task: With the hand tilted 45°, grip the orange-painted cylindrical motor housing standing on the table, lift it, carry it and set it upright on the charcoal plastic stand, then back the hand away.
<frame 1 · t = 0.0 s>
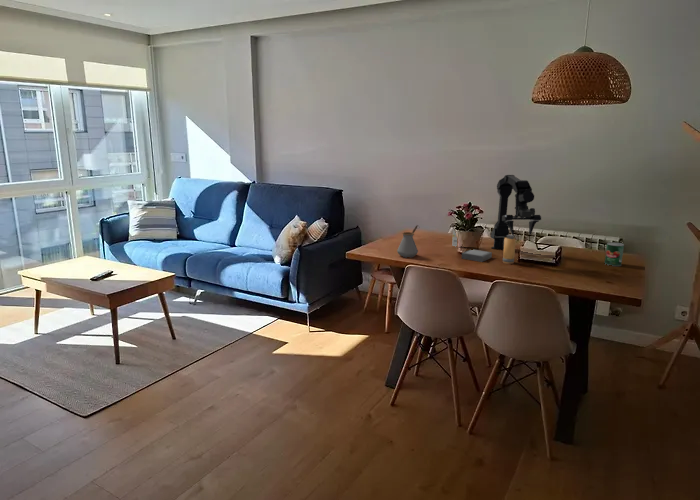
hand: (521, 234, 258), 15 cm above the table, tool pointing down, fingers open, 9 cm apart
coffee pot: (410, 254, 281), on the table
ink cartridge box: (459, 246, 300), on the table
housing: (508, 262, 264), on the table
stand: (476, 258, 273), on the table
canned tomato: (612, 264, 261), on the table
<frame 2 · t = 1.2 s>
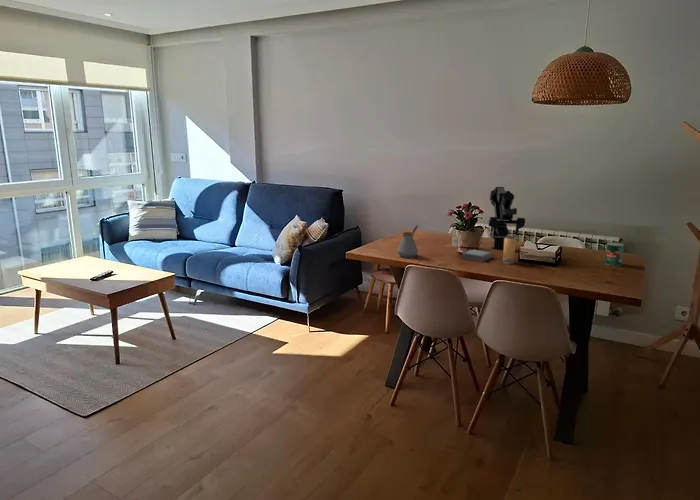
hand: (507, 235, 268), 13 cm above the table, tool tilted 45°, fingers open, 9 cm apart
nothing on the table moved.
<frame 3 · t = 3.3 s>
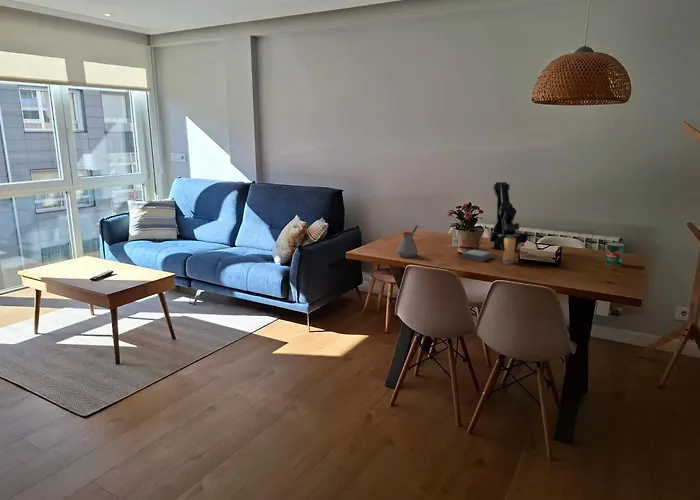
hand: (509, 250, 261), 7 cm above the table, tool tilted 45°, fingers closed on housing, 6 cm apart
housing: (508, 262, 264), on the table, touching gripper
everything else where it was.
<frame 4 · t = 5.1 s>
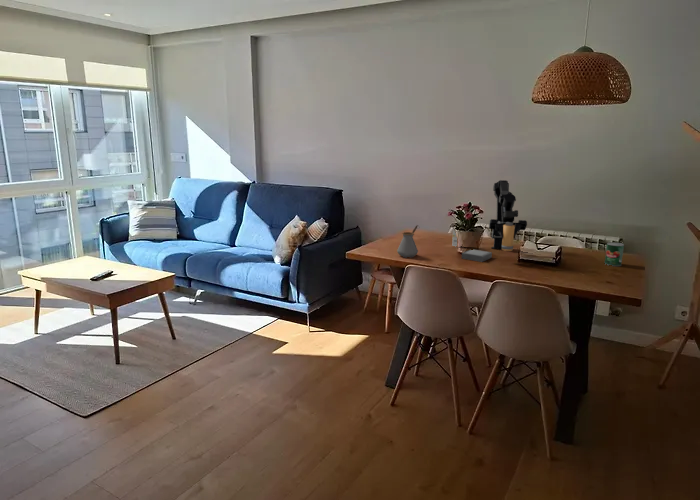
hand: (508, 238, 260), 13 cm above the table, tool tilted 45°, fingers closed on housing, 6 cm apart
housing: (507, 249, 263), point 7 cm above the table, touching gripper
everything else where it was.
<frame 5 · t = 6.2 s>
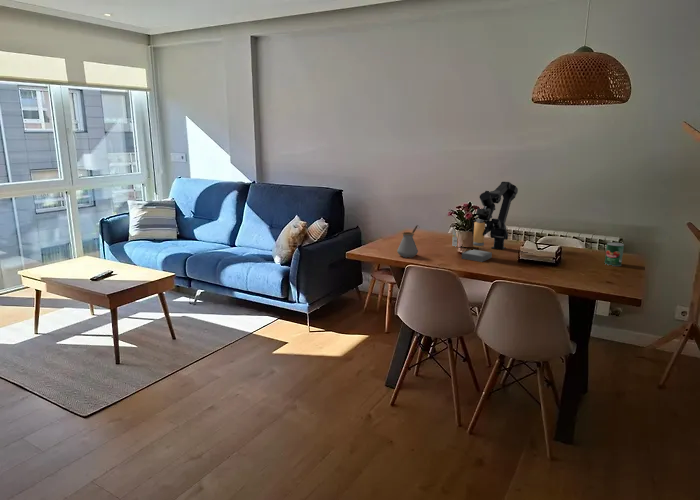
hand: (478, 234, 268), 13 cm above the table, tool tilted 45°, fingers closed on housing, 6 cm apart
housing: (478, 246, 271), point 7 cm above the table, touching gripper
everything else where it was.
when the fingers open (11 cm above the table, at t = 7.2 s): housing drops 1 cm, resting on stand.
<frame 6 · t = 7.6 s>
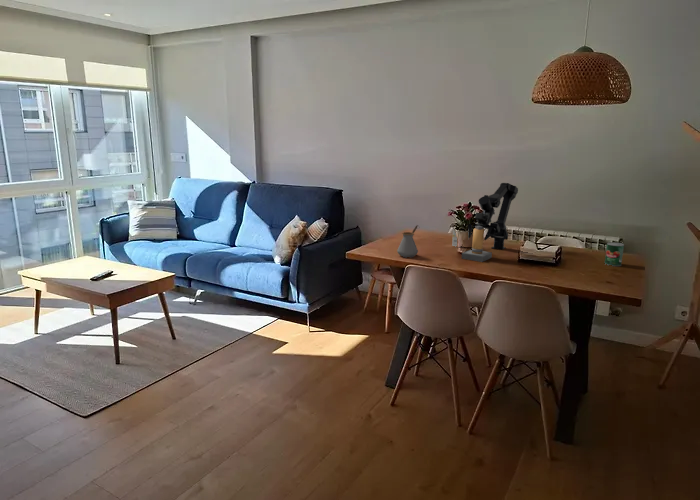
hand: (476, 238, 269), 11 cm above the table, tool tilted 45°, fingers open, 9 cm apart
housing: (476, 252, 272), point 3 cm above the table, touching stand
everything else where it was.
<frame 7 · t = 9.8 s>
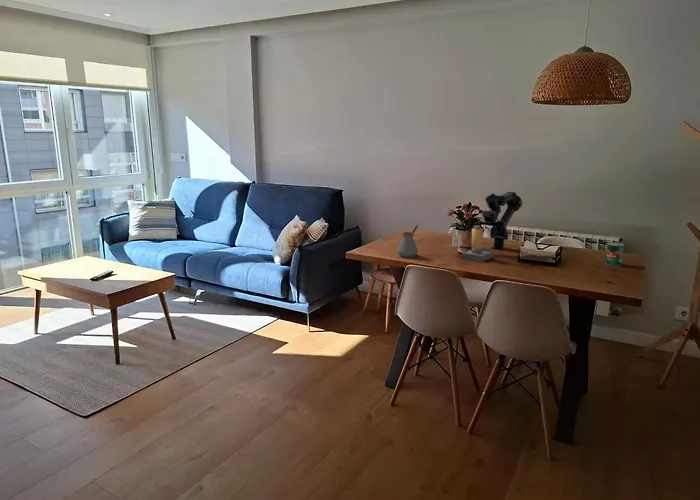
hand: (483, 236, 276), 11 cm above the table, tool tilted 45°, fingers open, 9 cm apart
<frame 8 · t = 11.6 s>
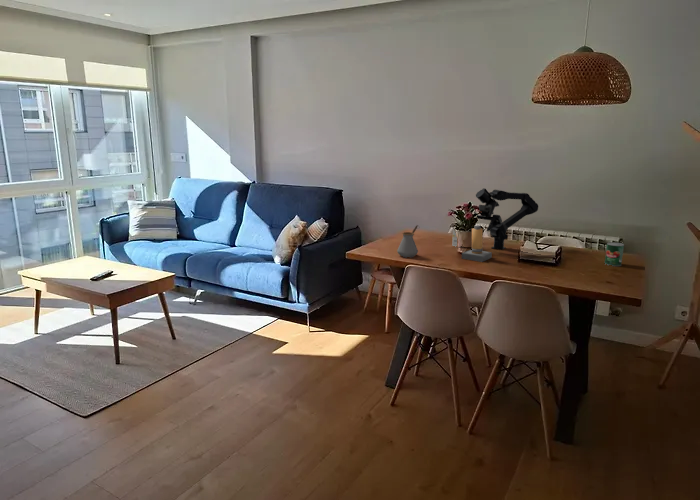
hand: (479, 229, 280), 14 cm above the table, tool tilted 45°, fingers open, 9 cm apart
nothing on the table moved.
at the end: housing inside the target area on the stand (0.0 cm from its centre), point 3.2 cm above the stand's base; housing tilted 1°; the gripper is holding nothing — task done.
